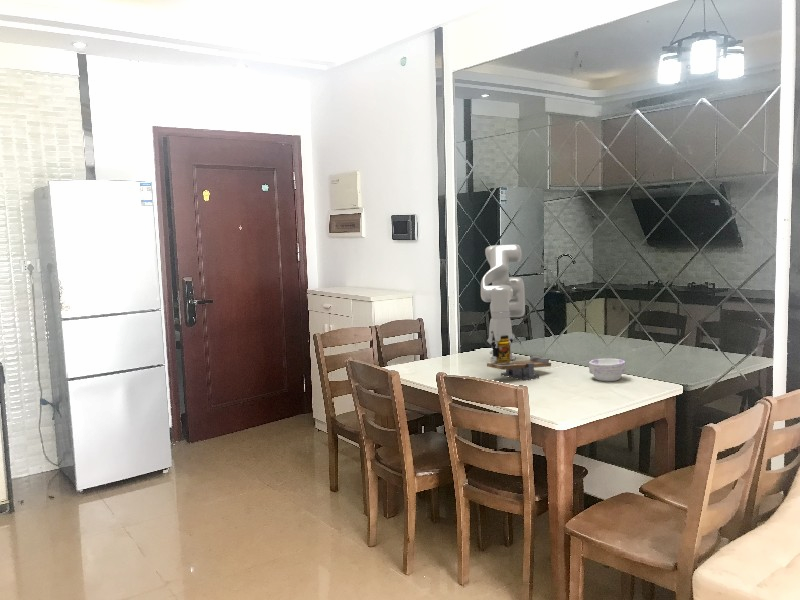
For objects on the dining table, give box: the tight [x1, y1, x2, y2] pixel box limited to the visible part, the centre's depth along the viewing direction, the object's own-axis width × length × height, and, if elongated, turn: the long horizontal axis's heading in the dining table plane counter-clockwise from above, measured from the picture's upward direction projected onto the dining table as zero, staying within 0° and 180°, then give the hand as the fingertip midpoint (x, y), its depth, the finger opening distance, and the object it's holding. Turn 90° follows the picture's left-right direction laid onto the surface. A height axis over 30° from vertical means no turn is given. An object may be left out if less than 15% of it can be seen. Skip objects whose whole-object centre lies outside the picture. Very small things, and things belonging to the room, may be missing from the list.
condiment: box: [490, 335, 515, 364], centre depth 288 cm, size 7×8×12 cm
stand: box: [500, 359, 540, 381], centre depth 295 cm, size 16×8×7 cm, turn 34°
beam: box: [486, 355, 552, 371], centre depth 294 cm, size 10×30×4 cm, turn 124°
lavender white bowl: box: [588, 358, 627, 382], centre depth 282 cm, size 15×15×8 cm
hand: (501, 355), depth 288 cm, fingers closed on condiment, 6 cm apart
